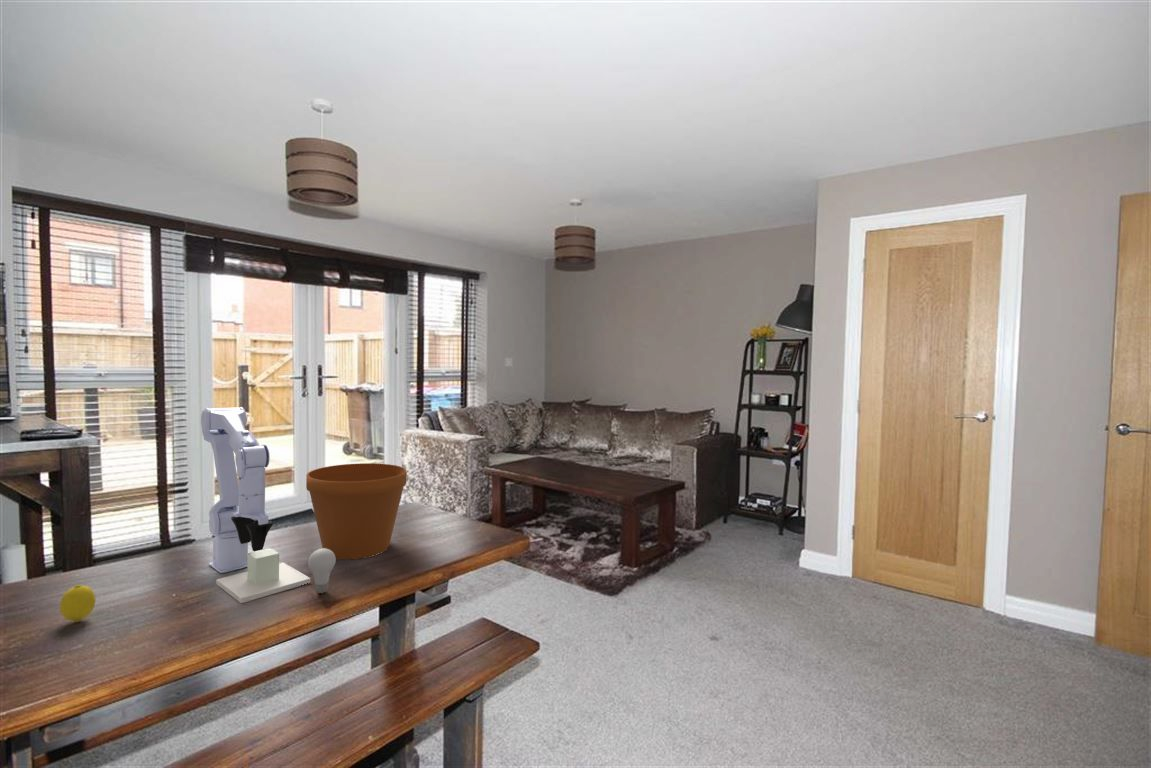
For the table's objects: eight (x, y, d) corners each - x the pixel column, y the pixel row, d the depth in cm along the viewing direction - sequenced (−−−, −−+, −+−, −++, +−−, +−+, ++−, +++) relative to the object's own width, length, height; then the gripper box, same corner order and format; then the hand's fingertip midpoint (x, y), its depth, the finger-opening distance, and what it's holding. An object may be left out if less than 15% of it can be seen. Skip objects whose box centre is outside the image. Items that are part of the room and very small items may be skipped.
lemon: (59, 621, 115) (59, 584, 114) (94, 613, 119) (94, 577, 118) (60, 631, 111) (60, 592, 110) (96, 622, 115) (96, 585, 114)
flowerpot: (344, 573, 145) (346, 486, 144) (285, 552, 159) (286, 473, 158) (424, 545, 168) (426, 470, 168) (366, 528, 183) (367, 460, 182)
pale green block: (247, 579, 136) (247, 553, 136) (270, 573, 140) (270, 548, 140) (255, 585, 133) (256, 558, 133) (279, 578, 137) (279, 553, 137)
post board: (216, 584, 136) (216, 559, 135) (282, 566, 148) (283, 544, 148) (241, 603, 126) (241, 577, 125) (310, 582, 138) (310, 559, 138)
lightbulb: (340, 591, 133) (341, 547, 133) (317, 600, 128) (318, 555, 128) (325, 586, 136) (325, 543, 136) (302, 594, 131) (302, 549, 131)
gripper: (223, 491, 137) (222, 543, 138) (246, 501, 128) (245, 557, 129) (253, 486, 143) (252, 537, 144) (277, 496, 134) (276, 550, 135)
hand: (251, 546), depth 137 cm, fingers open, 7 cm apart
